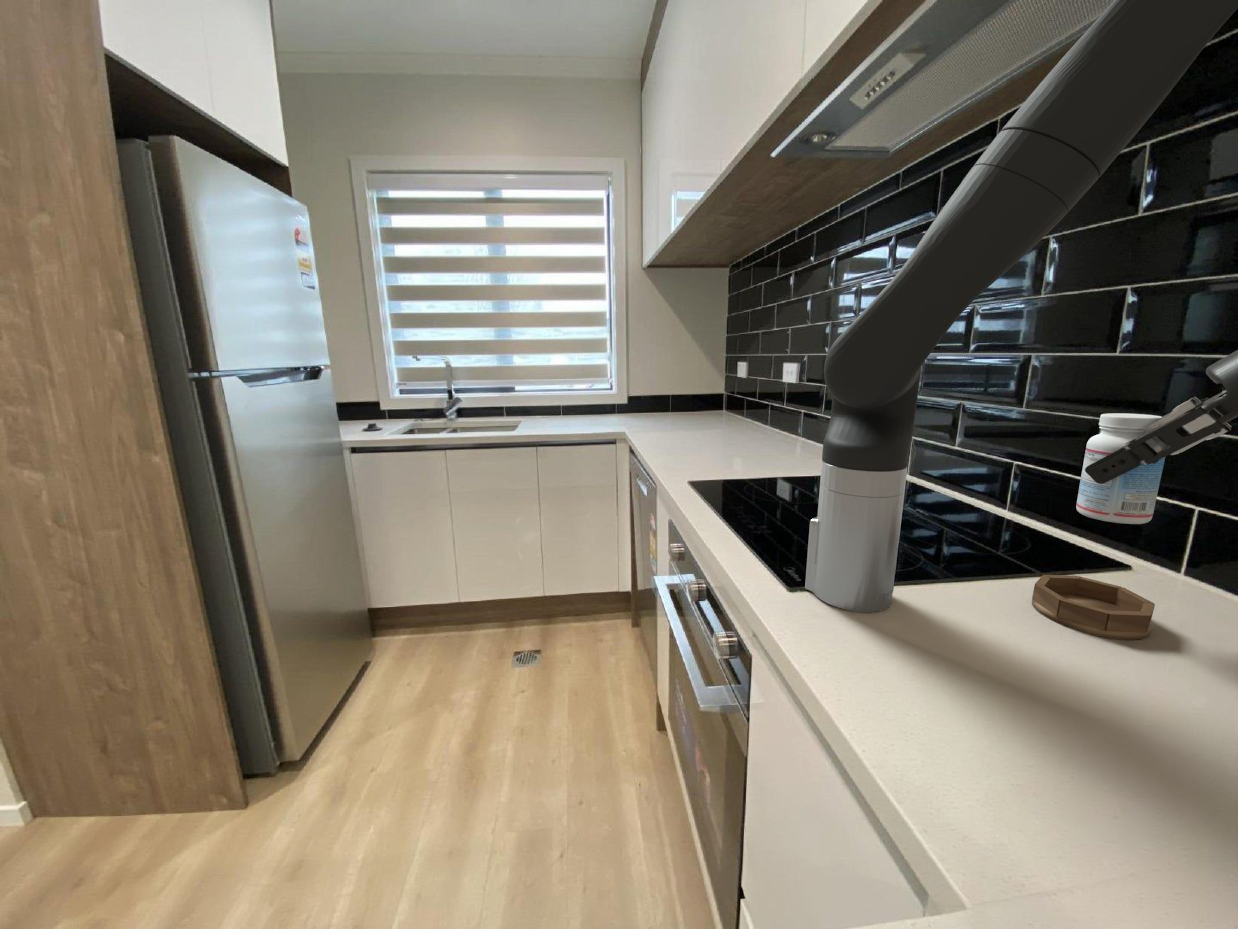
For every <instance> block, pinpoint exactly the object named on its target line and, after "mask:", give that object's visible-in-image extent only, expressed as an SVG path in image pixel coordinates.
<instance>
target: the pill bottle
mask: <svg viewBox="0 0 1238 929" xmlns="http://www.w3.org/2000/svg"><path fill="white" fill-rule="evenodd" d="M1162 418H1163V416H1160V415H1155V414H1154V415H1153V414H1145V413H1141V414H1140V413H1124V412H1123V413H1122V412H1121V413H1119V412H1118V413H1117V412H1115V413H1113V412H1112V413H1110V412H1109V413H1102V414H1100V417H1099V422H1098V426H1099V427H1098V428H1099V429H1101V430H1100V433H1098V434H1096V435H1093V436H1091V437H1090V438H1089V439H1088V441H1087V442H1086V447H1085V451H1084V452H1085V453H1084V458H1083V465H1082V468H1081V469H1082V470H1081V475H1080V482H1079V487H1078V491H1077V492H1078V494H1077V500H1076V506H1075V507H1076V511H1077V512H1078V513H1079V514H1081V515H1082V516H1085V517H1087V518H1091V519H1094V520H1099V521H1103V522H1109V523H1115V524H1124V525H1125V524H1126V525H1127V524H1129V525H1142V524H1147V523H1149V522H1150V521H1151V520H1152V519H1153V515H1154V513H1155V512H1154V511H1155V507H1156V503H1157V496H1158V494H1159V493H1158V492H1159V488H1160V483H1161V478H1162V475H1163V474H1162V473H1163V469H1164V465H1165V459H1166V457H1163V458H1161V459H1159V461H1158V462H1156V463H1154V464H1153V463H1151V464H1149V465H1147V464H1146V465H1144V466H1142V465H1140V466H1138V467H1136V468H1134V469H1132V470H1130V471H1128V472H1126V473H1124V474H1122V475H1120V476H1118V477H1116V478H1114V479H1112V480H1110V481H1108V482H1106V483H1104V484H1098V483H1096V482H1095V481H1094V480H1093V479H1092V478H1091V477H1090V476H1089V475H1088V474H1087V473H1086V472H1085V468H1086V467H1087V466H1089V465H1090V464H1092V463H1094V462H1096V461H1098V460H1100V459H1102V458H1104V457H1106V456H1107V455H1109V454H1111V453H1113V452H1115V451H1117V450H1119V449H1121V448H1122V447H1123V446H1124V445H1126V444H1125V443H1127V442H1129V441H1132V440H1134V439H1137V438H1139V437H1141V436H1143V435H1144V429H1145V428H1146V427H1148V426H1149V425H1151V424H1153V423H1155V422H1157V421H1159V420H1160V419H1162ZM1145 442H1146V443H1147V444H1148V445H1149V446H1150V447H1151V448H1153V449H1154V450H1155V451H1156V452H1158V451H1160V450H1161V447H1160V446H1159V445H1158V444H1157V443H1156V442H1155V441H1154V440H1152V439H1149V440H1147V441H1145Z"/></svg>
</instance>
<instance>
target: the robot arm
mask: <svg viewBox="0 0 1238 929" xmlns="http://www.w3.org/2000/svg"><path fill="white" fill-rule="evenodd" d="M1237 10H1238V0H1113V1H1112V2H1111V3H1110V5H1108V6H1107V8H1106V9H1104V11H1103V12H1102V13H1101V14H1100V16H1098V18H1097V19H1096V20H1095V21H1094V22H1093V24H1091V25H1090V27H1088V29H1087V30H1086V31H1085V32H1084V34H1083V35H1081V37H1080V38H1079V39H1078V40H1077V41H1076V42H1075V43H1074V44H1073V46H1072V47H1070V49H1069V50H1068V51H1067V52H1066V53H1065V54H1064V56H1063V57H1061V59H1060V60H1059V61H1058V62H1057V64H1056V65H1055V66H1054V67H1053V68H1052V69H1051V70H1050V72H1048V74H1047V75H1046V76H1045V77H1044V78H1043V80H1042V81H1040V83H1039V84H1038V86H1037V87H1036V88H1035V89H1034V90H1033V91H1032V93H1031V94H1030V95H1029V96H1028V97H1027V98H1026V100H1025V101H1024V102H1023V103H1022V105H1021V106H1020V107H1019V108H1018V110H1017V111H1016V112H1015V113H1014V114H1013V115H1012V116H1011V118H1010V119H1009V120H1008V121H1007V123H1006V124H1005V125H1004V126H1003V127H1002V129H1001V130H1000V131H999V133H997V135H996V136H995V137H994V139H993V140H992V141H991V143H990V144H989V145H988V147H986V149H985V150H984V151H983V153H982V154H981V155H980V157H979V158H978V159H977V161H976V162H975V164H973V166H972V167H971V169H970V170H969V171H968V173H967V174H966V175H965V176H964V178H963V179H962V181H961V183H960V184H959V186H958V187H957V188H956V189H955V191H954V192H953V194H952V195H951V197H949V199H948V201H947V202H946V203H945V205H944V206H943V207H942V209H941V210H940V212H939V213H938V214H937V216H936V217H935V219H934V220H933V221H932V223H931V224H930V226H929V228H928V229H927V231H926V232H925V233H924V235H923V236H922V238H921V239H920V241H919V243H918V244H917V246H916V247H915V248H914V250H913V251H912V253H911V255H910V256H909V258H908V259H907V260H906V262H905V263H904V264H903V265H902V267H901V268H900V269H899V271H898V272H897V273H896V274H895V276H893V278H891V280H890V281H889V282H888V283H887V285H886V286H885V287H884V288H883V289H882V290H881V291H880V293H879V294H877V296H876V297H875V298H874V299H873V300H872V301H871V302H870V303H869V305H868V306H866V307H865V309H864V310H863V311H862V312H861V313H860V314H859V315H858V316H857V317H856V318H855V319H854V321H852V322H851V323H850V324H849V325H848V327H847V328H846V329H845V330H843V332H842V333H840V335H839V336H838V337H837V338H836V339H835V340H834V342H833V343H832V344H831V346H830V348H829V349H828V352H827V354H826V356H825V361H824V365H823V377H824V378H823V379H824V382H825V386H826V388H827V390H828V391H829V394H831V396H832V399H831V412H830V418H829V421H828V422H829V423H828V427H827V430H826V433H825V436H824V439H823V441H822V442H823V444H822V454H821V468H820V478H819V479H820V481H819V491H818V492H819V494H818V505H817V506H818V507H817V516H816V517H813V518H812V519H810V521H809V531H808V532H809V533H808V544H807V558H806V569H805V570H806V571H805V583H804V584H805V585H804V589H805V590H807V591H810V592H812V593H813V594H814V595H815V596H816V597H817V598H818V599H819V600H821V601H823V602H824V603H826V604H827V605H830V606H833V607H835V608H839V609H843V610H845V611H846V610H847V611H851V612H861V613H874V612H880V611H884V610H886V609H888V608H889V607H890V606H891V605H892V602H893V593H894V586H895V575H896V568H897V562H898V561H897V559H898V558H897V557H898V551H899V550H898V549H899V541H900V534H901V526H902V525H901V524H902V520H903V519H902V516H903V510H904V509H903V508H904V501H905V492H906V491H905V490H906V482H907V475H908V465H909V457H910V453H911V452H910V451H911V447H912V440H913V435H914V428H915V422H916V421H915V420H916V414H917V412H916V411H917V406H918V398H919V397H918V396H919V389H920V383H921V382H920V381H921V374H922V373H921V371H922V366H923V364H924V363H925V362H926V360H927V359H928V357H929V356H930V355H931V353H932V352H933V351H934V349H936V347H937V345H938V344H939V343H940V341H941V340H942V338H943V337H944V336H945V335H946V333H947V332H948V331H949V329H950V328H951V327H952V326H953V324H955V322H956V321H957V319H958V318H960V316H961V315H962V314H963V313H964V311H965V310H967V308H969V306H970V305H971V304H972V303H973V302H974V301H975V300H976V299H977V298H978V297H979V296H980V295H981V294H982V293H984V291H986V290H987V289H988V288H989V287H991V286H992V285H993V284H995V282H996V281H997V280H999V279H1000V278H1001V277H1003V275H1004V274H1005V273H1007V272H1008V271H1009V270H1010V269H1011V268H1012V267H1013V266H1014V265H1016V264H1017V263H1018V262H1019V261H1021V259H1022V258H1024V257H1025V256H1026V255H1027V254H1028V253H1029V252H1030V251H1031V250H1032V249H1034V247H1035V246H1036V245H1037V244H1039V242H1041V241H1042V240H1043V238H1044V237H1046V235H1048V234H1049V233H1050V232H1051V231H1052V230H1053V229H1054V228H1055V227H1056V226H1057V225H1058V224H1059V223H1060V222H1061V221H1062V220H1063V218H1064V217H1065V216H1066V215H1067V214H1068V213H1069V212H1070V211H1071V210H1072V209H1073V208H1074V206H1076V204H1077V203H1078V202H1079V201H1080V200H1081V199H1082V198H1083V197H1084V196H1085V194H1086V193H1088V191H1089V190H1090V189H1091V188H1092V187H1093V186H1094V184H1095V183H1096V182H1097V181H1098V180H1099V179H1100V178H1101V177H1102V176H1103V175H1104V173H1105V171H1106V170H1107V169H1108V168H1109V167H1110V166H1111V165H1112V163H1113V162H1114V161H1115V160H1116V158H1117V157H1118V156H1119V155H1120V154H1121V152H1122V151H1124V149H1125V148H1126V147H1127V146H1128V145H1129V143H1130V142H1131V141H1132V139H1134V138H1135V136H1136V135H1137V134H1138V132H1139V131H1140V130H1141V129H1142V127H1143V126H1145V124H1146V122H1147V121H1148V120H1149V119H1150V118H1151V117H1152V115H1153V114H1154V112H1156V110H1157V109H1158V108H1159V107H1160V105H1161V104H1162V103H1163V102H1164V100H1165V99H1166V98H1167V97H1168V95H1169V94H1170V92H1172V90H1173V89H1174V87H1175V86H1176V85H1177V84H1178V82H1179V81H1180V80H1181V79H1182V77H1183V76H1184V75H1185V73H1186V72H1187V70H1188V69H1189V68H1190V66H1191V65H1192V64H1193V63H1194V61H1195V60H1196V59H1197V57H1198V56H1199V55H1200V54H1201V52H1202V51H1203V50H1204V48H1205V47H1206V46H1207V44H1209V42H1210V41H1211V40H1212V38H1213V37H1214V36H1215V35H1216V34H1217V32H1218V31H1219V30H1220V29H1221V27H1223V26H1224V24H1225V23H1226V22H1227V21H1228V20H1229V19H1230V18H1231V16H1232V15H1234V13H1235V12H1236V11H1237ZM1205 374H1206V375H1207V376H1208V377H1209V379H1210V380H1212V381H1213V383H1215V384H1216V385H1217V386H1219V387H1220V388H1221V390H1222V391H1221V392H1219V393H1218V394H1216V395H1214V396H1212V397H1210V398H1209V397H1205V398H1204V399H1203V398H1201V399H1199V398H1197V397H1196V396H1194V397H1191V398H1189V399H1188V400H1186V401H1184V402H1183V403H1180V404H1179V405H1177V406H1176V407H1175V408H1173V409H1172V411H1171V412H1169V413H1167V414H1165V415H1164V416H1162V417H1163V418H1162V419H1160V420H1159V421H1157V422H1155V423H1153V424H1151V425H1149V426H1148V427H1146V428H1145V429H1144V435H1143V436H1141V437H1139V438H1137V439H1134V440H1132V441H1129V442H1127V443H1125V444H1126V445H1124V446H1123V447H1122V448H1121V449H1119V450H1117V451H1115V452H1113V453H1111V454H1109V455H1107V456H1106V457H1104V458H1102V459H1100V460H1098V461H1096V462H1094V463H1092V464H1090V465H1089V466H1087V467H1086V468H1085V472H1086V473H1087V474H1088V475H1089V476H1090V477H1091V478H1092V479H1093V480H1094V481H1095V482H1096V483H1098V484H1104V483H1106V482H1108V481H1110V480H1112V479H1114V478H1116V477H1118V476H1120V475H1122V474H1124V473H1126V472H1128V471H1130V470H1132V469H1134V468H1136V467H1138V466H1140V465H1142V466H1144V465H1146V464H1147V465H1149V464H1151V463H1153V464H1154V463H1156V462H1158V461H1159V459H1161V458H1163V457H1165V458H1166V457H1167V456H1169V455H1170V456H1174V455H1179V454H1180V453H1183V452H1185V451H1187V450H1189V449H1190V448H1193V447H1194V446H1196V445H1198V444H1200V443H1202V442H1204V441H1208V440H1209V441H1210V440H1212V439H1215V438H1219V437H1220V436H1221V435H1224V434H1225V433H1227V432H1230V431H1231V430H1232V425H1230V424H1229V423H1228V422H1230V421H1233V420H1234V419H1236V418H1238V349H1237V350H1235V351H1233V352H1232V353H1230V354H1228V355H1226V356H1224V357H1223V358H1221V359H1219V360H1218V361H1216V362H1214V363H1213V364H1210V365H1208V366H1207V368H1206V369H1205ZM1149 439H1152V440H1154V441H1155V442H1156V443H1157V444H1158V445H1159V446H1160V447H1161V450H1160V451H1158V452H1156V451H1155V450H1154V449H1153V448H1151V447H1150V446H1149V445H1148V444H1147V443H1146V442H1145V441H1147V440H1149Z"/></svg>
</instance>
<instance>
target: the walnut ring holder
mask: <svg viewBox="0 0 1238 929" xmlns="http://www.w3.org/2000/svg"><path fill="white" fill-rule="evenodd" d="M1031 599H1032V600H1031V605H1032V607H1033V608H1034V609H1035V610H1036V612H1038V613H1039V614H1041V615H1042V616H1044V617H1045V618H1048V619H1049V620H1050V621H1053V622H1055V623H1057V624H1059V625H1062V626H1064V627H1067V628H1070V629H1072V630H1075V631H1078V632H1082V633H1086V634H1090V635H1092V636H1096V637H1097V636H1098V637H1102V638H1107V639H1113V640H1125V641H1137V640H1138V641H1139V640H1143V639H1146V638H1147V637H1149V636H1150V634H1151V631H1152V627H1153V624H1152V618H1153V615H1154V612H1155V607H1156V604H1155V603H1154V602H1153V601H1151V600H1149V599H1147V598H1144V597H1143V596H1141V595H1139V594H1137V593H1136V592H1133V591H1132V590H1130V589H1127V588H1125V587H1124V586H1123V587H1122V586H1119V585H1116V584H1112V583H1107V582H1104V581H1100V580H1096V579H1092V578H1087V577H1084V576H1079V575H1060V574H1058V575H1057V574H1042V576H1041V577H1039V579H1038V580H1037V581H1036V582H1035V583H1034V587H1033V593H1032V598H1031Z"/></svg>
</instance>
